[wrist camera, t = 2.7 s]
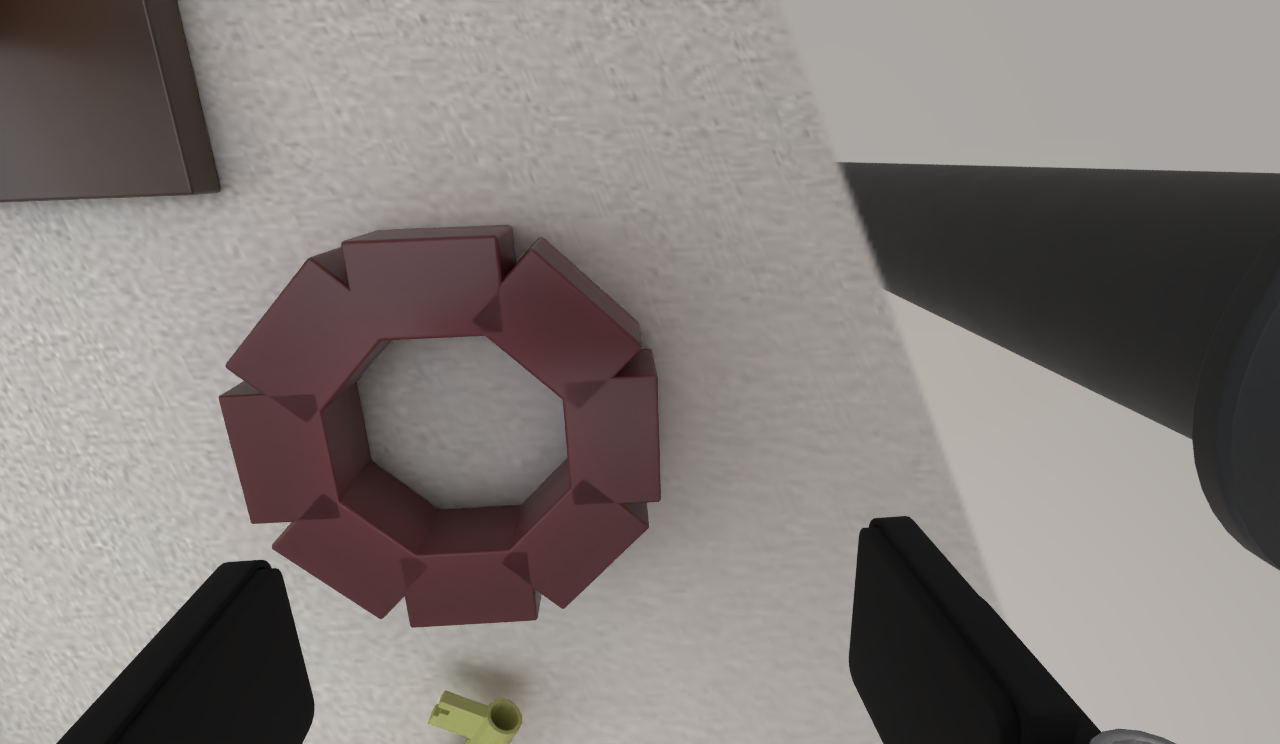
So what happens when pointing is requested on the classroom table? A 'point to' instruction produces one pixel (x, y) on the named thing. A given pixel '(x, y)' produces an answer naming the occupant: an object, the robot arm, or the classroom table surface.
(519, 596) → the ring
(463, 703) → the key
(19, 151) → the peg stand
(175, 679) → the robot arm
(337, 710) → the classroom table surface
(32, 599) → the classroom table surface
